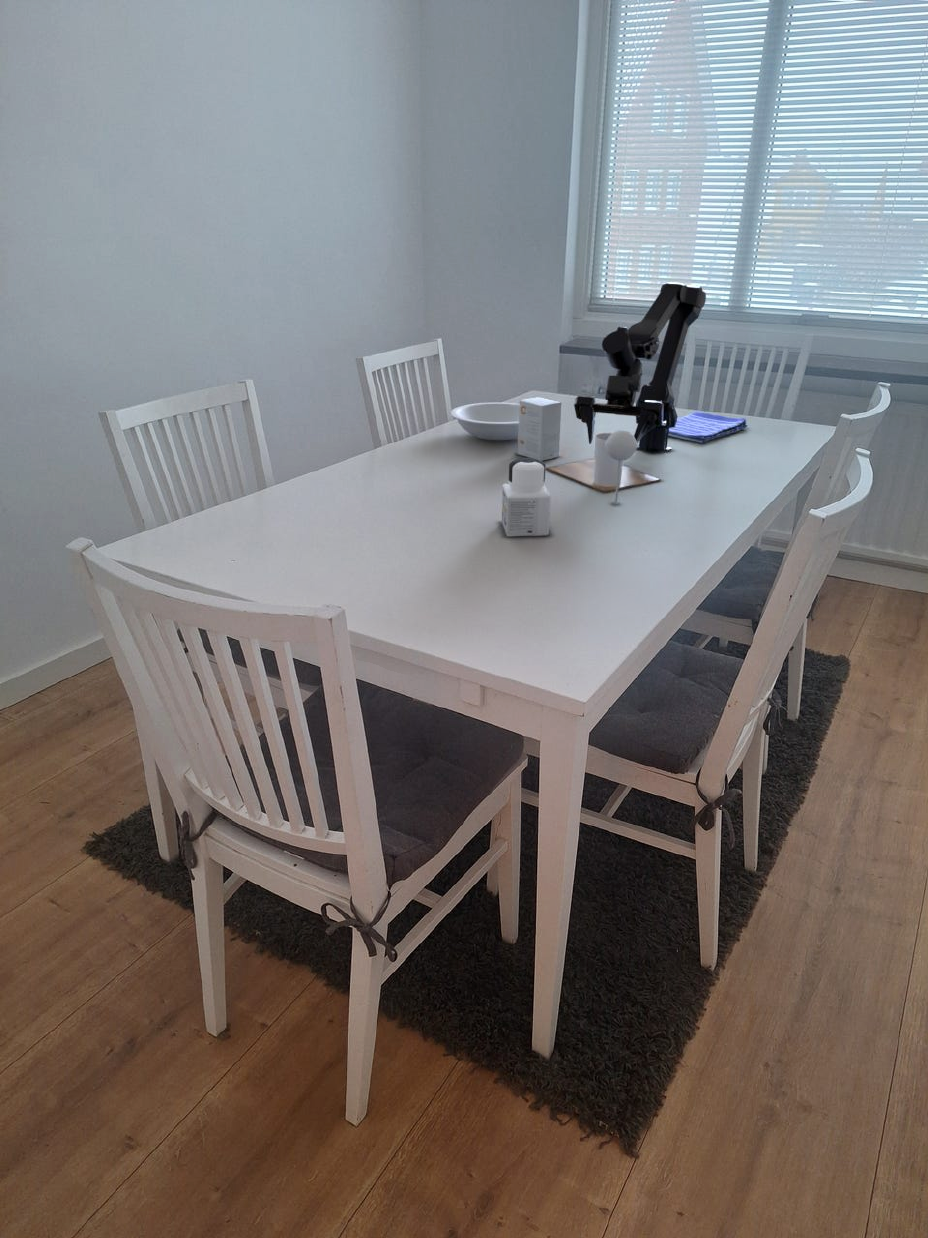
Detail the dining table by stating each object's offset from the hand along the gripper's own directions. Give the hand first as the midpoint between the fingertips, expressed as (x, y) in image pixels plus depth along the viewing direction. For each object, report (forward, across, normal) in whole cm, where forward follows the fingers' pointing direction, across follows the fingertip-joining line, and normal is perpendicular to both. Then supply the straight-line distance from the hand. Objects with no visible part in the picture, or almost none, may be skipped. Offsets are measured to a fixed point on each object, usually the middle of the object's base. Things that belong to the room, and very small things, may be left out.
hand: (611, 444), depth 173 cm
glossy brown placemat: (+2, -2, +10) cm, 10 cm away
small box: (-5, -20, +17) cm, 27 cm away
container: (+30, -9, -18) cm, 36 cm away
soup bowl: (-14, -34, +26) cm, 45 cm away
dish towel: (-33, +14, +45) cm, 57 cm away
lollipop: (+16, +4, -4) cm, 17 cm away
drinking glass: (+7, 0, +5) cm, 8 cm away
